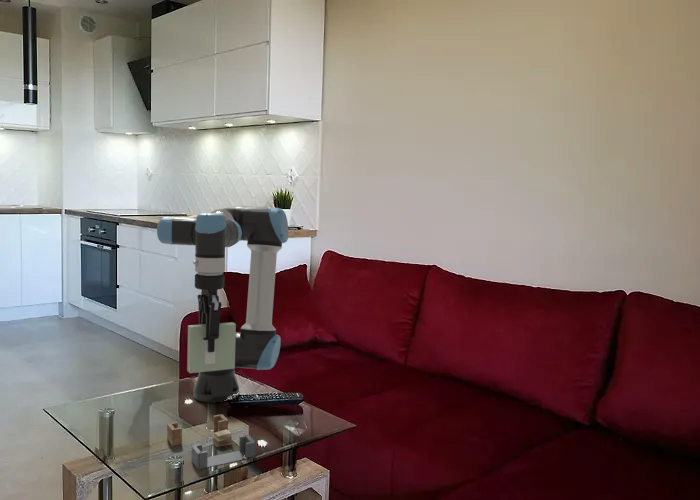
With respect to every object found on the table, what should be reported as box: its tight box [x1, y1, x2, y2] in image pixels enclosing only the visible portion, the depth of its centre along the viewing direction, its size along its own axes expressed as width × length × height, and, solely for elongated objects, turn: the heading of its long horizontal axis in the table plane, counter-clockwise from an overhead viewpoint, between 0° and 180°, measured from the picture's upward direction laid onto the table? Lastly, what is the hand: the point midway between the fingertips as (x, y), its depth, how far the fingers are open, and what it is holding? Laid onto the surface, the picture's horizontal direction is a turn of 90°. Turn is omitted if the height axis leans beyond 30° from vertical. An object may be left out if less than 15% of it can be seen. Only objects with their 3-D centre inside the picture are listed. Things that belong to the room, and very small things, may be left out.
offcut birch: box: [212, 441, 232, 448], centre depth 167 cm, size 4×3×2 cm
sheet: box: [186, 321, 237, 374], centre depth 160 cm, size 12×2×12 cm, turn 119°
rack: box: [166, 414, 229, 447], centre depth 170 cm, size 16×5×5 cm, turn 121°
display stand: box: [191, 434, 256, 470], centre depth 158 cm, size 15×5×5 cm, turn 121°
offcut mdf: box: [213, 429, 232, 441], centre depth 167 cm, size 4×3×2 cm
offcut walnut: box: [212, 436, 232, 448], centre depth 167 cm, size 4×3×2 cm
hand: (207, 361), depth 159 cm, fingers closed on sheet, 2 cm apart
